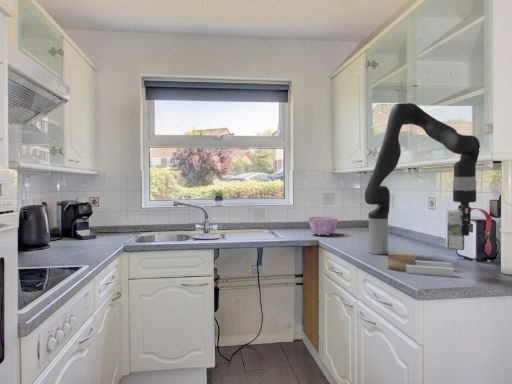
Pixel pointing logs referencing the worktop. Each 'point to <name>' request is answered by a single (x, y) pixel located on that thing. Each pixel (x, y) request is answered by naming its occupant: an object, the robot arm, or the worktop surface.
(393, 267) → the block
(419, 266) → the channel
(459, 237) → the syrup box
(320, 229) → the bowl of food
